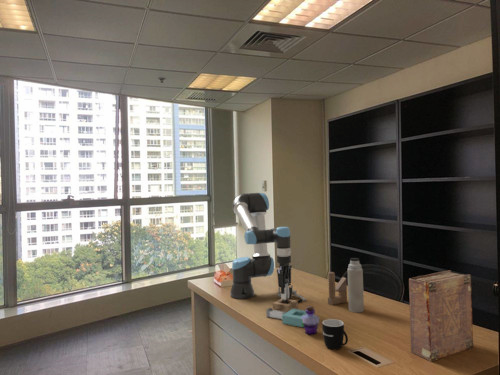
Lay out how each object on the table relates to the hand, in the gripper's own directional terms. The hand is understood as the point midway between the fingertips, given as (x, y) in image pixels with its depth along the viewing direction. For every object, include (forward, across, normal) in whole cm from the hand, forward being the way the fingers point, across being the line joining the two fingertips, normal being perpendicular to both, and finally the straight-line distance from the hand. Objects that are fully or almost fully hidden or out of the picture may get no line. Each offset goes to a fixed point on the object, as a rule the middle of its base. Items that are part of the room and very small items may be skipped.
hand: (285, 298), depth 205 cm
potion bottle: (+7, -21, -24) cm, 33 cm away
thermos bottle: (+7, +19, -33) cm, 39 cm away
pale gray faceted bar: (+7, -11, -2) cm, 13 cm away
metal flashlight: (+6, 0, 0) cm, 6 cm away
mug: (+7, -31, -40) cm, 51 cm away
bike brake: (+8, +18, +4) cm, 21 cm away
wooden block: (+7, +26, -20) cm, 34 cm away
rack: (+7, 0, 0) cm, 7 cm away
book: (+7, -13, -78) cm, 79 cm away
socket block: (+7, -11, -13) cm, 18 cm away
